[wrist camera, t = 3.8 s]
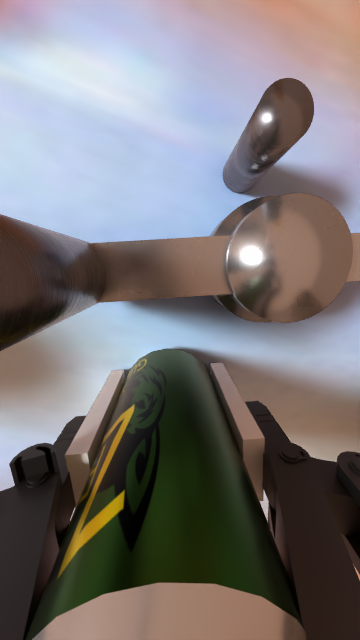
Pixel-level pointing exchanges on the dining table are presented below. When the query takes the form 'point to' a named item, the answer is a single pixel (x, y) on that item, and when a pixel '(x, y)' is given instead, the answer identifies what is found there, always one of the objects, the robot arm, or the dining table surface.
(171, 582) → the beer can
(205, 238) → the crank
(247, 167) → the base
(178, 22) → the dining table surface
